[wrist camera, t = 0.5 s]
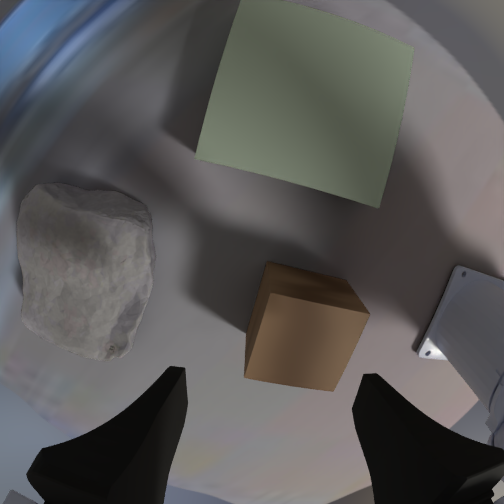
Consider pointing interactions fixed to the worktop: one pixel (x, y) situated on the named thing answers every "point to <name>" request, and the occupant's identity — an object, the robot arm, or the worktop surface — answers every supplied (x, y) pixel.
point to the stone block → (85, 267)
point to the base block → (307, 100)
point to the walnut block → (302, 328)
